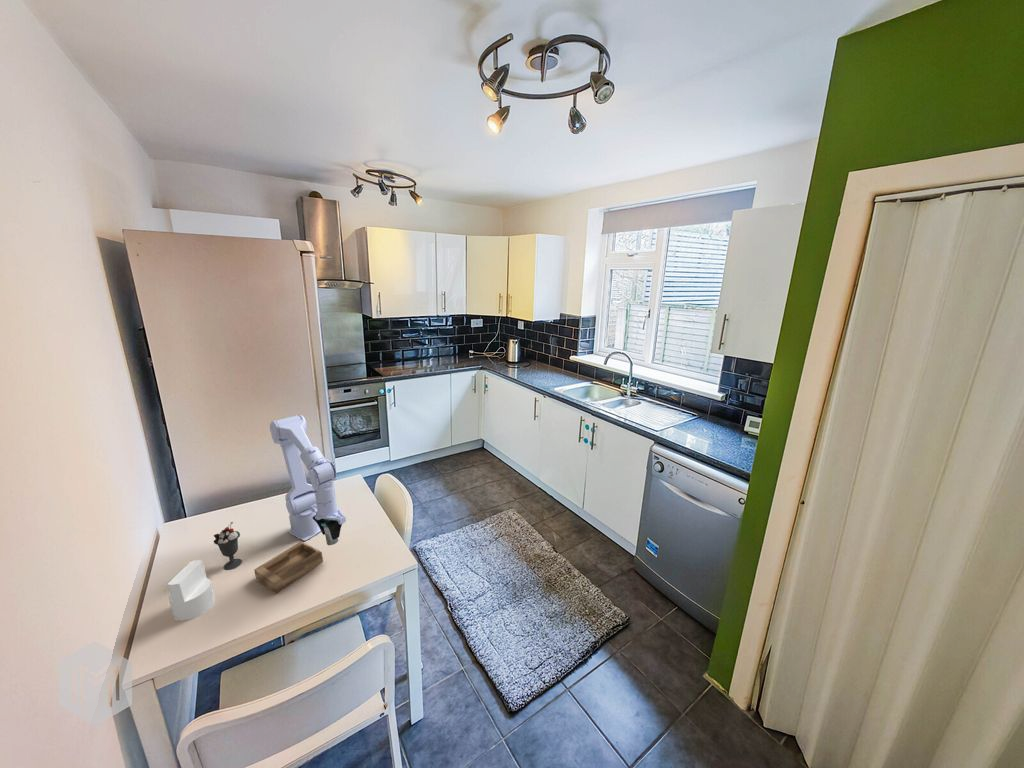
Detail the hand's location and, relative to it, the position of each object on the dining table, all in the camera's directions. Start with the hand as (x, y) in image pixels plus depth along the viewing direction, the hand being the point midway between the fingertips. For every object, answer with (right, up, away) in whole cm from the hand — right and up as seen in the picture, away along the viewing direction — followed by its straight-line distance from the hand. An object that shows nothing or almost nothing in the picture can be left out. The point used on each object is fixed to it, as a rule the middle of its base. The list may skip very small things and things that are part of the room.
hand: (331, 535), depth 123 cm
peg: (0, -2, 0) cm, 2 cm away
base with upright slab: (-30, -14, -17) cm, 37 cm away
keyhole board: (-11, -10, -3) cm, 15 cm away
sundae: (-31, -9, -1) cm, 33 cm away
